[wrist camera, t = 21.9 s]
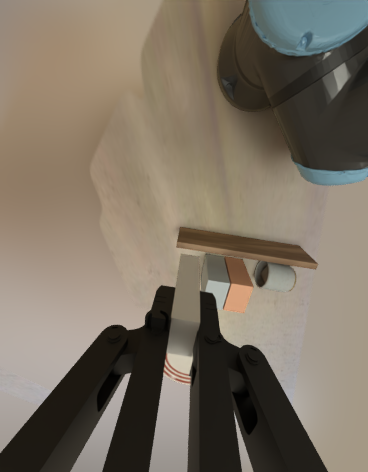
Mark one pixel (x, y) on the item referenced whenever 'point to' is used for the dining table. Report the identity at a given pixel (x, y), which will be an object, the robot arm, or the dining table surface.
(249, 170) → the dining table surface
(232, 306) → the tan rectangular block
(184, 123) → the dining table surface
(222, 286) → the light grey rectangular block
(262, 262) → the ceramic mug
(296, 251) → the brown wooden board
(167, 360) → the dinner plate
